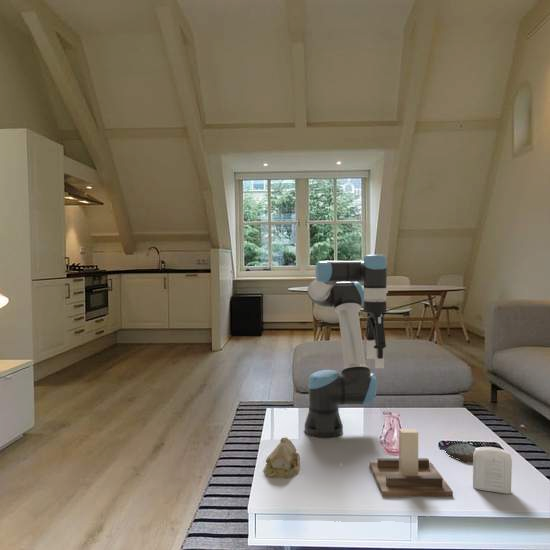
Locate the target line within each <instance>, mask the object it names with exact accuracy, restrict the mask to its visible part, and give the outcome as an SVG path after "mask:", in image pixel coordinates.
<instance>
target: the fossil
mask: <svg viewBox="0 0 550 550" xmlns="http://www.w3.org/2000/svg"><path fill="white" fill-rule="evenodd" d="M448 446H449V447H448ZM448 446H447V447H448V448H446V447H445V449H444V451H446V453H447V454H448V455H450V456H453V457H455V458H458V459H460V460H461V461H460V460H459V461H460V462H462V461H464V463H466V462H469V463H473V454H474V451H475V448H477V447H476V446H473V445H471V444H467V443H457V444H451V446H450V445H448ZM446 453H445V454H446ZM447 454H446V455H447ZM448 455H447V456H448ZM450 456H449V457H450ZM453 457H452V458H453ZM455 458H454V459H455ZM458 459H457V460H458Z"/></svg>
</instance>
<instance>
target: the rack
mask: <svg viewBox="0 0 550 550" xmlns="http://www.w3.org/2000/svg"><path fill="white" fill-rule="evenodd" d="M376 460H377V462H375V461H374V462H369V469H370V470H371V471H370V472H371V473H373V474H372V476H373V478H374V481H375V482H376V485H377V487H378V489H379V492H380V494H381V496H382V497H454V495H453V493H454V492H453V490H452V488H451V486H450V485H449V484H448V483H447V482H446V480H445V479H444V477H443V476H442V475H441V473H440V472H439V471H438V470H437V468H436V467H435V466H434V464H433V463H432V462H430V460H429V458H426V457H425V458H424V457H423V458H422V457H418V476H400V475H399V457H395V458H393V457H392V458H389V457H388V458H387V457H385V458H384V457H383V458H382V457H381V458H380V457H379V458H377V459H376Z"/></svg>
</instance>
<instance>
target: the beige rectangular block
mask: <svg viewBox="0 0 550 550" xmlns="http://www.w3.org/2000/svg"><path fill="white" fill-rule="evenodd" d="M398 458H399V475H400V476H418V458H419V432H418V430H417V429H416V428H398Z"/></svg>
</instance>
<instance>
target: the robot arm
mask: <svg viewBox="0 0 550 550" xmlns="http://www.w3.org/2000/svg"><path fill="white" fill-rule="evenodd" d="M387 268H388V264H387V256H386V255H384V254H366V255H364V256H363V260H320V261H317V262H316V264H315V268H314V269H315V270H314V273H315V279H314V280H312V281H311V282H310V283H309V285H308V287H307V296H308V298H309V299H310V301H312V302H313V303H314V304H316V305H318V306H319V307H325V308H334V312H335V313H336V314H337V315H338V321H339V331H340V339H341V346H342V347H341V348H342V349H341V350H342V357H343V365H344V367H343V368H341V371H340V372H341V373H340V374H339V372H338V370H335V369H323V370H318V371H315V372H313V373H311V374H310V376H309V377H308V385H307V387H308V413H307V415H306V418H305V423H304V432H305V434H307V435H309V436H312V437H316V438H323V439H325V438H327V439H329V438H335V437H339V436H341V435H342V434H343V432H344V429H343V428H344V426H343V423H342V419H341V416H340V413H339V405H366V404H367V405H368V404H372V403H374V402H375V399H376V395H377V389H378V388H377V387H378V386H377V385H378V381H377V380H378V379H377V377H376V374H375V373H372V372H371V368H370V367H369V366H368V365H366V359H367V360H374V368H375V369H384V368H385V348H386V346H387V343H386V335H385V324H384V319H385V318H384V317H383V316H381V314H384V313H387V301H386V300H387V294H389V291H388V290H387V275H388V274H387ZM362 282H363V286H362V284H361V283H362ZM362 307H363V312H365V313H367V315H366V316H367V317H366V327H365V335H364V336H365V338H366V359H365V352H364V351H365V350H364V344H363V343H364V342H363V338H362V337H363V336H362V328H361V323H360V322H361V321H360V315H359V312H360V311H361V310H362Z"/></svg>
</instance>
